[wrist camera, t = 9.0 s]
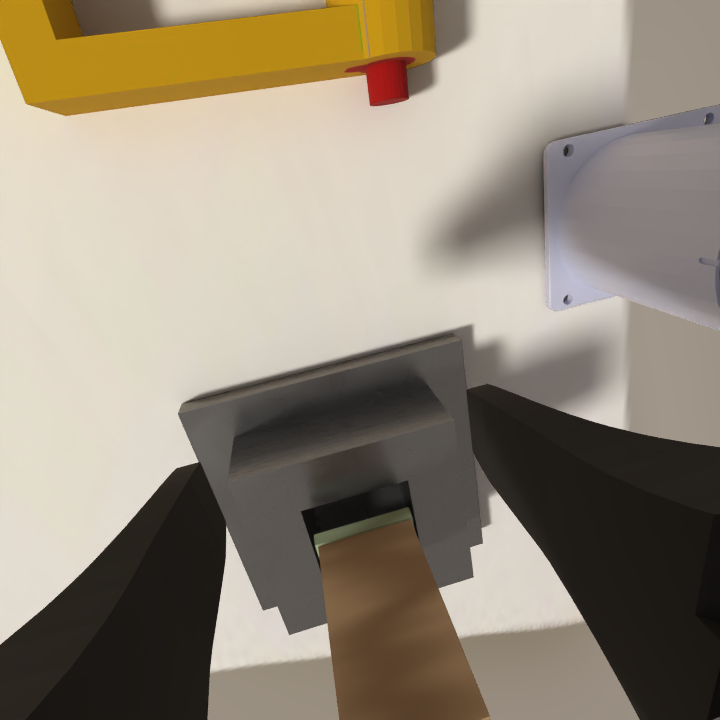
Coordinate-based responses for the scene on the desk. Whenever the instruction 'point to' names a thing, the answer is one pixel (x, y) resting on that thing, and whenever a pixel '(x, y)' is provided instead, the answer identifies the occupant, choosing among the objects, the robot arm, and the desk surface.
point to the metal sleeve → (341, 466)
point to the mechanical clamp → (212, 54)
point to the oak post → (391, 627)
